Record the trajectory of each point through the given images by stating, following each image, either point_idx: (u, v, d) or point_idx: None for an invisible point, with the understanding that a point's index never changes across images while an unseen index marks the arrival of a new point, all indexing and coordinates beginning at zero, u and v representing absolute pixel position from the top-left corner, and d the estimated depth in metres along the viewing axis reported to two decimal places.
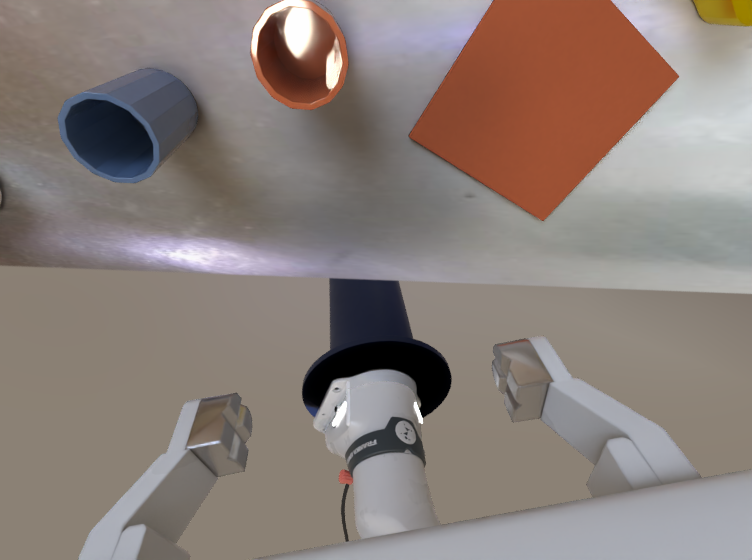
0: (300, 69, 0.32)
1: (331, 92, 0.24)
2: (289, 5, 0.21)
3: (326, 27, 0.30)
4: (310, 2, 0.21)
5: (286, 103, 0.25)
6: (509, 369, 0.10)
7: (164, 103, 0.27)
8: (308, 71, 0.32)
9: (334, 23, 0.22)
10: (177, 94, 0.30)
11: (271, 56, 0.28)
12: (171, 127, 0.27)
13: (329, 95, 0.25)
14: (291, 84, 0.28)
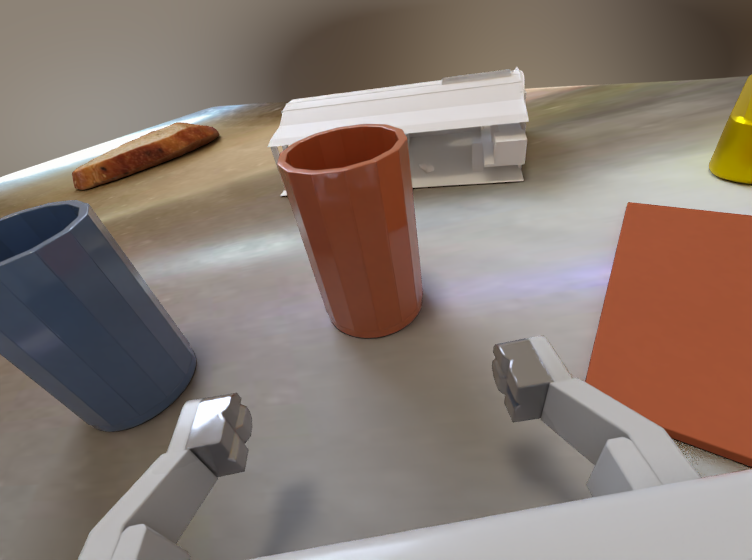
0: None
1: (379, 156, 0.15)
2: (340, 128, 0.19)
3: None
4: None
5: (305, 171, 0.15)
6: (509, 369, 0.10)
7: (141, 283, 0.18)
8: None
9: (389, 125, 0.18)
10: (173, 326, 0.20)
11: None
12: (118, 284, 0.16)
13: (376, 157, 0.15)
14: None
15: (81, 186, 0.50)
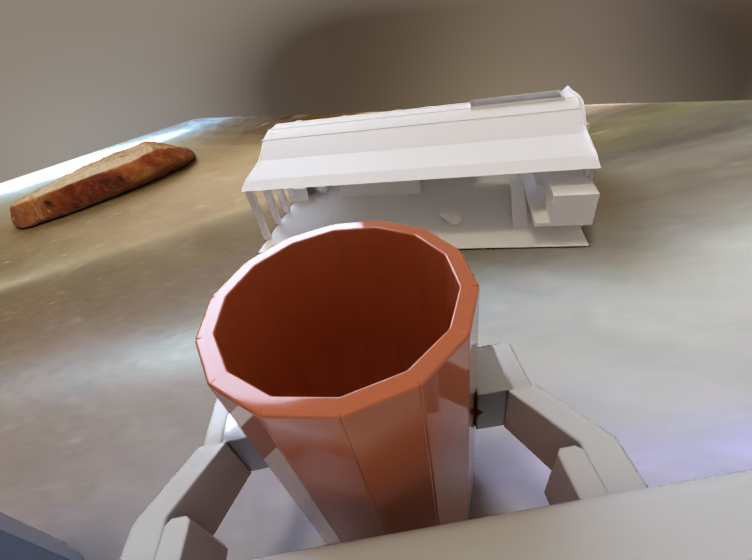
0: None
1: (426, 356, 0.06)
2: (334, 229, 0.10)
3: None
4: None
5: (247, 399, 0.06)
6: None
7: None
8: None
9: (430, 234, 0.09)
10: None
11: None
12: None
13: (418, 364, 0.06)
14: None
15: (20, 224, 0.41)
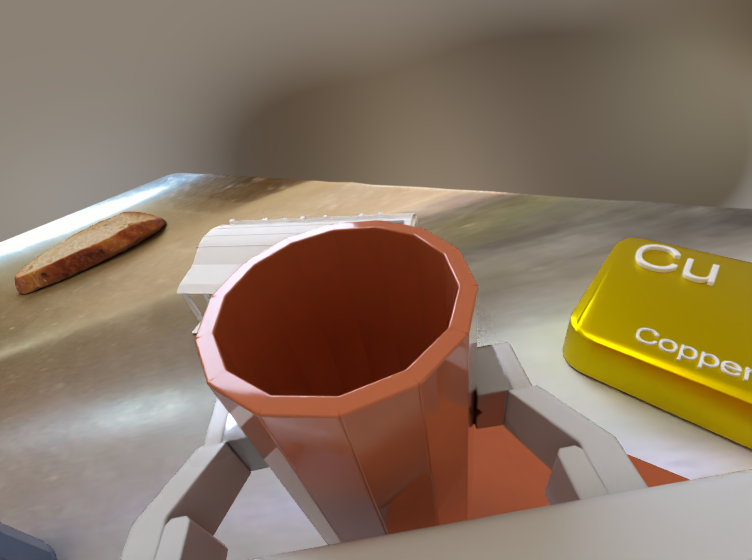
0: None
1: (425, 355, 0.06)
2: (334, 229, 0.10)
3: None
4: (378, 220, 0.10)
5: (246, 398, 0.06)
6: None
7: None
8: None
9: (430, 234, 0.09)
10: (24, 557, 0.22)
11: None
12: None
13: (417, 363, 0.06)
14: None
15: (22, 291, 0.52)
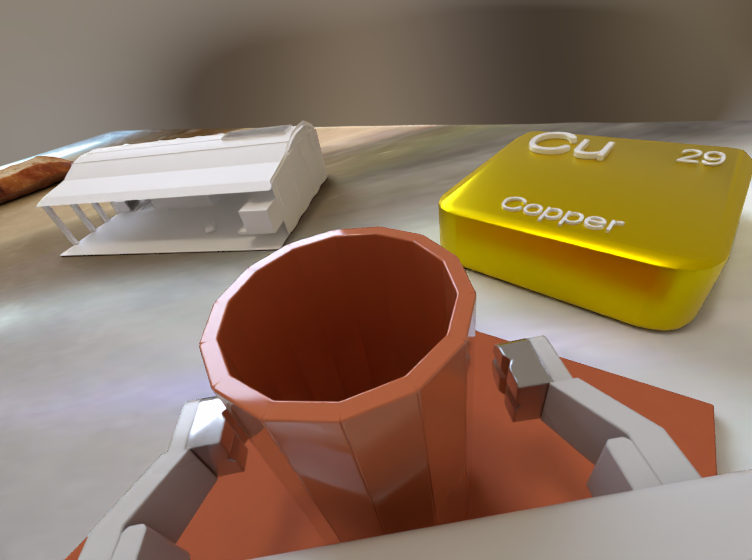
0: None
1: (424, 362, 0.06)
2: (335, 235, 0.10)
3: None
4: None
5: (250, 403, 0.06)
6: (509, 369, 0.10)
7: None
8: None
9: (429, 241, 0.09)
10: None
11: None
12: None
13: (416, 370, 0.06)
14: None
15: None
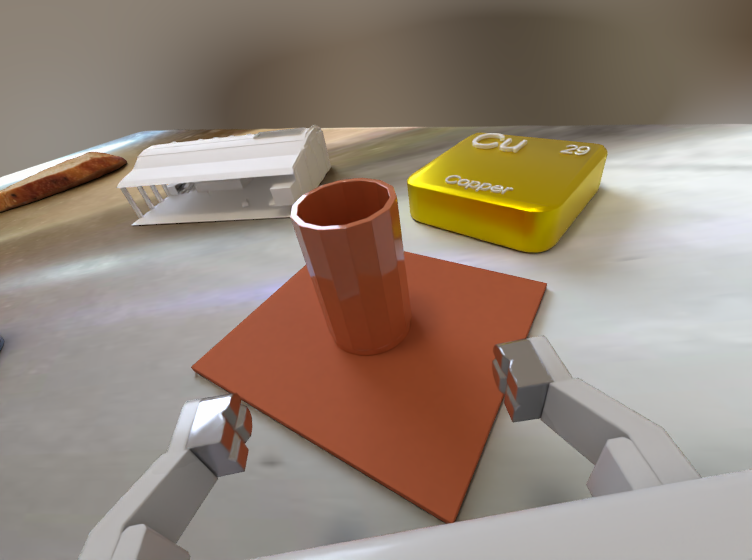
0: None
1: (374, 214, 0.19)
2: (341, 181, 0.23)
3: None
4: None
5: (314, 227, 0.19)
6: (509, 369, 0.10)
7: None
8: None
9: (382, 182, 0.22)
10: None
11: None
12: None
13: (371, 216, 0.19)
14: None
15: None
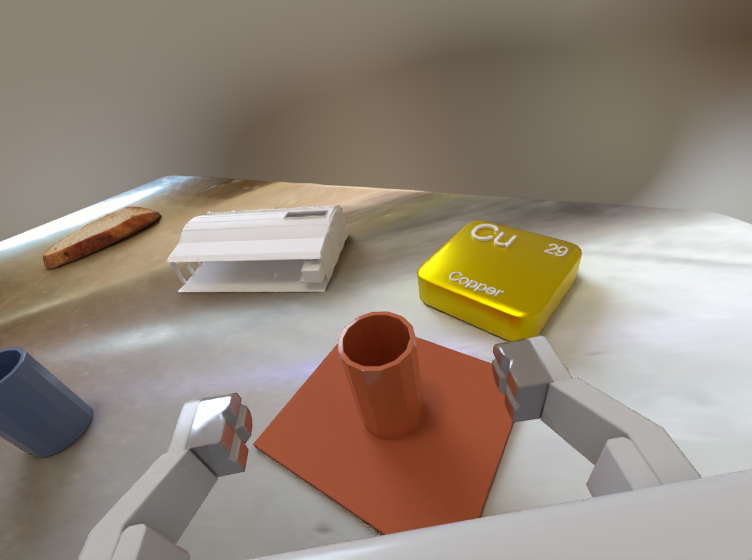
0: None
1: (400, 357, 0.27)
2: (372, 314, 0.30)
3: None
4: None
5: (358, 367, 0.26)
6: (509, 369, 0.10)
7: (55, 383, 0.36)
8: None
9: (404, 319, 0.29)
10: (76, 401, 0.38)
11: None
12: (40, 389, 0.34)
13: (398, 359, 0.26)
14: None
15: (49, 266, 0.68)
